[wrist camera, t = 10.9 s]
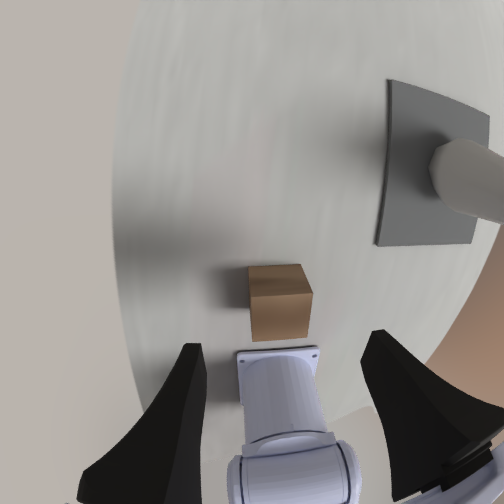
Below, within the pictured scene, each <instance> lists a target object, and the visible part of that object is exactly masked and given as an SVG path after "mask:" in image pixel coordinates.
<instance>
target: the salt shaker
mask: <svg viewBox="0 0 504 504" xmlns="http://www.w3.org/2000/svg"><path fill="white" fill-rule="evenodd" d="M428 169H429V172H430V176H431V180H432V184H433V188H434V189H435V191H436V192H437V194H438V196H439V197H440V199H441V200H442V202H443V203H444V204H445V205H447V206H448V207H449V208H451V209H452V210H453V211H455V212H459V213H463V214H467V215H470V216H474V217H478V218H481V219H485V220H489V221H492V222H495V223H499V224H502V225H504V157H502V156H500V155H498V154H497V153H495V152H493V151H491V150H489V149H488V148H486V147H484V146H482V145H480V144H478V143H476V142H474V141H472V140H468V139H463V138H457V139H455V140H453V141H451V142H449V143H447V144H444V145H442V146H439V147H437V148H436V149H435V152H434V154H433V157H432V159H431V161H430V164H429V166H428Z"/></svg>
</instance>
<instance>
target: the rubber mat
mask: <svg viewBox="0 0 504 504" xmlns="http://www.w3.org/2000/svg"><path fill="white" fill-rule="evenodd" d="M489 122H490V116H489V115H487V114H485V113H483V112H481V111H479V110H476V109H474V108H472V107H470V106H468V105H465V104H463V103H461V102H458V101H456V100H453V99H451V98H448V97H445V96H443V95H440V94H437V93H435V92H432V91H429V90H426V89H423V88H420V87H416V86H413V85H410V84H406V83H403V82H399V81H396V80H389V137H388V153H387V165H386V176H385V185H384V194H383V202H382V209H381V216H380V222H379V229H378V234H377V240H376V245H377V246H378V247H384V246H414V245H444V244H471V242H472V239H473V235H474V231H475V227H476V223H477V218H478V217H474V216H470V215H467V214H463V213H459V212H455V211H453V210H452V209H451V208H449V207H448V206H447V205H445V204H444V203H443V202H442V200H441V199H440V197H439V196H438V194H437V192H436V191H435V189H434V188H433V184H432V180H431V176H430V172H429V169H428V166H429V164H430V161H431V159H432V157H433V154H434V152H435V149H436V148H437V147H439V146H442V145H444V144H447V143H449V142H451V141H453V140H455V139H457V138H463V139H468V140H472V141H474V142H476V143H478V144H480V145H482V146H484V147H486V148H488V144H489Z"/></svg>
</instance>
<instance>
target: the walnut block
mask: <svg viewBox="0 0 504 504" xmlns="http://www.w3.org/2000/svg"><path fill="white" fill-rule="evenodd" d="M248 275H249V304H250V319H251V331H252V342H257V341H272V340H285V339H296V338H306V337H307V335H308V328H309V321H310V313H311V306H312V297H313V292H312V289H311V287H310V285H309V282H308V280H307V278H306V275H305V273H304V271H303V268H302V266H301V264H292V265H273V266H252V267H248Z"/></svg>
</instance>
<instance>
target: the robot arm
mask: <svg viewBox="0 0 504 504" xmlns="http://www.w3.org/2000/svg"><path fill="white" fill-rule="evenodd" d="M314 354H315V355H314ZM319 355H320V349H319V347H307V348H297V349H285V350H271V351H253V352H240V353H238V354H237V367H238V380H239V392H240V403H241V405H243V406H244V425H245V444H246V445H242V455H235V456H234V458H233V459H232V460H231V461H230V463H229V464H228V468H227V492H228V499H229V504H359V494H360V492H361V488H362V477H361V469H360V465H359V461H358V458H357V455H356V453H355V451H354V449H353V448H352V447H351V446H350V445H349V444H348V443H346V442H345V441H344V440H338V441H336V439H335V436H334V432H328V430H327V426H326V422H325V418H324V414H323V410H322V407H321V403H320V399H319V395H318V391H317V388H316V384H315V380H314V375H315V371H316V367H317V363H318V359H319ZM360 363H361V367H362V371H363V374H364V378H365V382H366V384H367V387H368V389H369V392H370V394H371V397H372V399H373V402H374V404H375V407H376V409H377V412H378V414H379V417H380V419H381V423H382V426H383V429H384V434H385V438H386V442H387V448H388V453H389V459H390V468H391V482H392V498H393V501H394V502H396V501H399V500H401V499H404V498H406V497H408V496H411V495H413V494H415V493H417V492H419V491H421V493H422V494H421V495H419V496H417V497H415V498H413V499H411V500H408V501H406V502H404V503H401V504H491V503H492V502H493V501H494V500H495V499H496V498H497V497H498V496H499V495H500V494H501V493H502V492H503V491H504V442H502V443H501V444H500V445H499V446H497V447H496V448H495V449H494V450H492V451H490V449H489V448H490V447H491V446H492V443H491V441H490V440H491V439H492V438H494V437H495V436H496V435H497V434H498V433H499V432H501V431H502V430H503V429H504V408H502V407H499V406H495V405H492V404H489V403H486V402H483V401H481V400H479V399H476V398H474V397H472V396H470V395H468V394H466V393H464V392H463V391H461V390H459V389H457V388H456V387H454V386H452V385H450V384H449V383H448V382H446V381H444V380H443V379H442V378H440V377H439V376H437V375H436V374H435V373H434V372H432V371H431V370H429V368H427V367H426V366H425V365H424V364H423V363H421V362H420V361H419V360H418V359H417V358H416V357H414V356H413V355H412V354H411V353H410V352H409V351H408V350H407V349H405V348H404V347H403V346H402V345H401V344H400V343H399V342H398V341H397V340H396V339H394V338H393V337H392V336H391V335H390V334H389V333H388V332H386V331H385V330H384V329H382V330H376V331H372V333H371V335H370V338H369V341H368V343H367V346H366V348H365V351H364V353H363V356H362V358H361V361H360ZM206 389H207V373H206V368H205V362H204V357H203V352H202V346H201V343H186V344H184V345H183V348H182V350H181V352H180V355H179V357H178V359H177V361H176V363H175V365H174V367H173V369H172V371H171V372H170V374H169V376H168V378H167V379H166V381H165V383H164V385H163V386H162V388H161V389H160V391H159V393H158V394H157V396H156V397H155V399H154V400H153V402H152V403H151V405H150V406H149V407H148V409H147V410H146V412H145V413H144V414H143V416H142V417H141V418H140V419H139V420H138V422H137V423H136V424H135V425H134V426H133V428H132V429H131V430H130V431H129V432H128V433H127V434H126V435H125V436H124V438H122V439H121V440H120V441H119V442H118V443H117V444H116V445H115V446H114V447H113V448H112V449H111V450H110V451H109V452H107V453H106V454H105V455H104V456H103V457H102V458H101V459H99V460H98V461H96V462H95V463H94V464H92V465H91V466H90V467H88V468H87V469H86V470H84V471H83V474H82V477H81V479H80V483H79V488H78V493H77V501H78V502H80V503H83V504H202V498H201V474H200V445H201V434H202V426H203V418H204V410H205V402H206ZM65 504H68V503H65Z"/></svg>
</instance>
